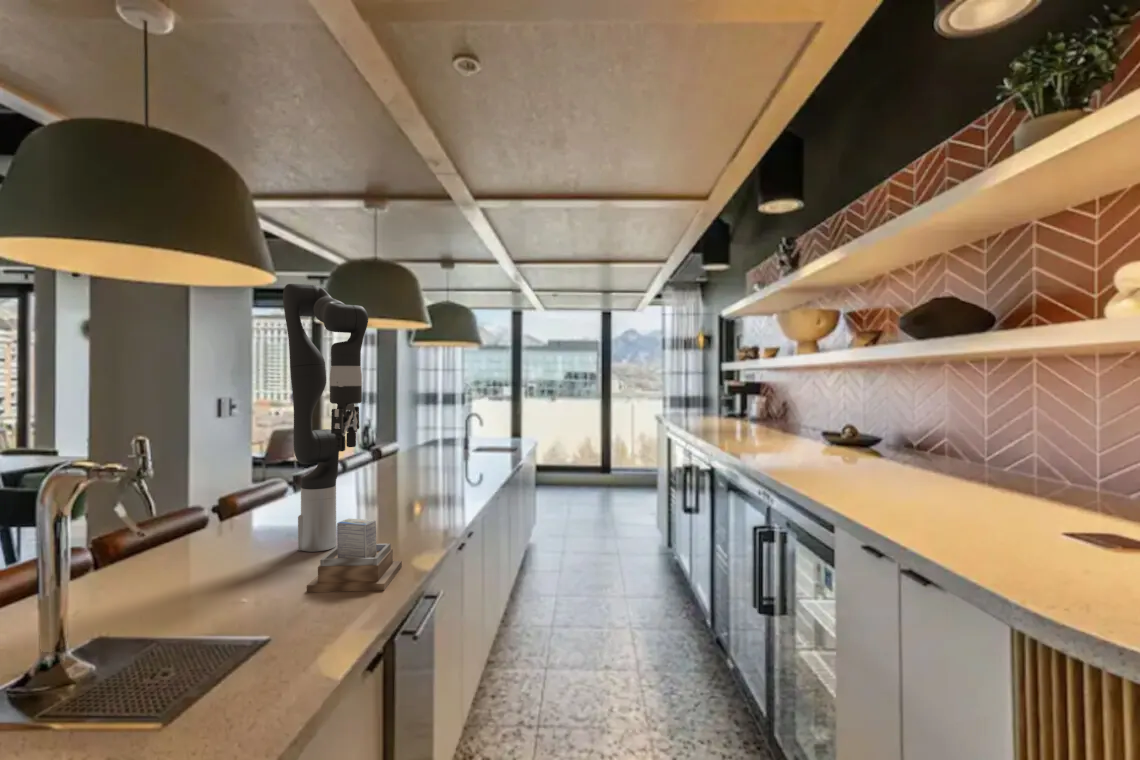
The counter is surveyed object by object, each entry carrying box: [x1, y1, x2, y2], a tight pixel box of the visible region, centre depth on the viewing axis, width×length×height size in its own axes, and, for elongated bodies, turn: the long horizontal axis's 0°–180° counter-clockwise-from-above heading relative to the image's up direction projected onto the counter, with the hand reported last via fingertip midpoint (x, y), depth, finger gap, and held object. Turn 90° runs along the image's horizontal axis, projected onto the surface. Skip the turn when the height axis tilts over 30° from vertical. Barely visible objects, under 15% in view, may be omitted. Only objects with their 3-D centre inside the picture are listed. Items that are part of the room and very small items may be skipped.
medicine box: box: [336, 518, 377, 558], centre depth 142 cm, size 8×4×9 cm, turn 74°
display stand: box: [306, 543, 403, 593], centre depth 142 cm, size 17×17×6 cm
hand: (345, 449), depth 149 cm, fingers open, 8 cm apart
